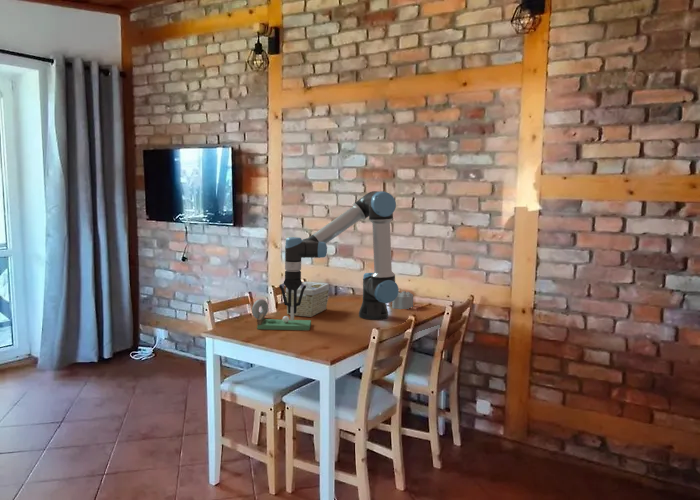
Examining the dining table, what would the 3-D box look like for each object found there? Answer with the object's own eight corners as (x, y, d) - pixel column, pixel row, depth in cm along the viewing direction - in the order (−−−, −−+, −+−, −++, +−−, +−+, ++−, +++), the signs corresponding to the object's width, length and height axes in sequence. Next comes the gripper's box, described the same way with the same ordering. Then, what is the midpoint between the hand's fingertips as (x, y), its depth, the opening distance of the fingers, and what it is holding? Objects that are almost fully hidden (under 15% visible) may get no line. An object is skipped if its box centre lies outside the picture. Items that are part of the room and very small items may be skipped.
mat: (311, 324, 278) (311, 320, 278) (309, 330, 266) (309, 326, 266) (261, 323, 278) (261, 319, 277) (257, 329, 266) (257, 325, 266)
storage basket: (302, 306, 318) (303, 280, 317) (330, 309, 313) (330, 282, 311) (284, 315, 296) (284, 287, 294) (313, 318, 291) (313, 289, 289)
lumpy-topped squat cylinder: (389, 307, 321) (390, 292, 320) (400, 304, 332) (400, 289, 331) (406, 310, 315) (407, 294, 314) (416, 306, 326) (417, 291, 325)
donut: (255, 321, 282) (255, 301, 281) (250, 320, 284) (250, 300, 283) (269, 317, 290) (269, 298, 289) (264, 316, 292) (264, 297, 291)
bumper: (264, 319, 277) (264, 314, 277) (260, 325, 266) (260, 319, 265) (261, 319, 277) (261, 314, 277) (257, 325, 266) (257, 319, 265)
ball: (282, 321, 273) (289, 322, 273) (281, 323, 270) (288, 323, 270) (283, 315, 273) (289, 315, 273) (282, 316, 269) (289, 316, 270)
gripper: (278, 271, 265) (277, 321, 268) (306, 271, 265) (305, 322, 268) (280, 268, 273) (279, 317, 275) (307, 269, 273) (306, 318, 275)
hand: (292, 319), depth 271 cm, fingers closed
